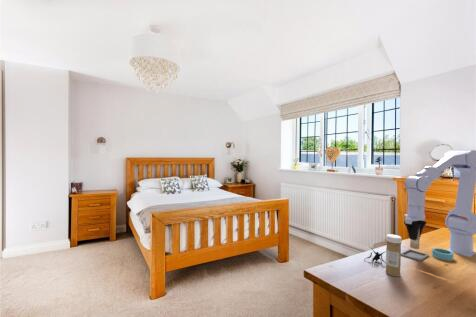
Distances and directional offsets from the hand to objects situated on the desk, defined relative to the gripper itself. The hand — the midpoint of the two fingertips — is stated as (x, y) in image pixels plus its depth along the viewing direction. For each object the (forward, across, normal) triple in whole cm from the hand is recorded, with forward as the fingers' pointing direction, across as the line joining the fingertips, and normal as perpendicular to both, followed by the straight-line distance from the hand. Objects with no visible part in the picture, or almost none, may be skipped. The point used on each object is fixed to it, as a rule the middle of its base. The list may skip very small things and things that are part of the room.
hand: (414, 238), depth 101 cm
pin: (+4, 0, 0) cm, 4 cm away
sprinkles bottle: (+8, +23, +2) cm, 24 cm away
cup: (+8, -8, +7) cm, 13 cm away
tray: (+8, 0, 0) cm, 8 cm away
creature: (+8, +19, -6) cm, 22 cm away
